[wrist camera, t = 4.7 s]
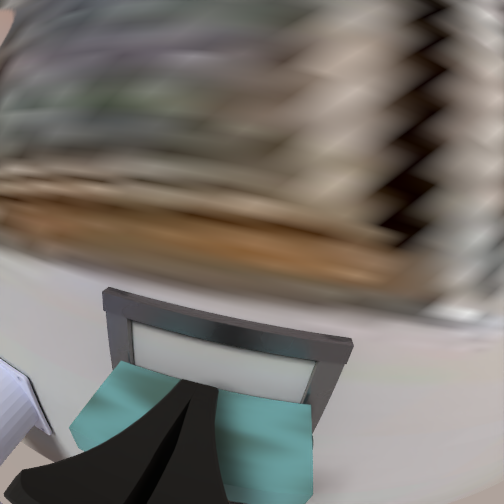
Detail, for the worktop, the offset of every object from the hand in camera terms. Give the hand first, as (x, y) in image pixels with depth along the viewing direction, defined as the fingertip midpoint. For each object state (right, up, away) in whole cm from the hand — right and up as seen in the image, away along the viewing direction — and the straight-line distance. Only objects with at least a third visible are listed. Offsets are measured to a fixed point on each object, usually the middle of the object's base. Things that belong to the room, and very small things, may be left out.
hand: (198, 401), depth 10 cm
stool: (-1, -7, +5) cm, 8 cm away
